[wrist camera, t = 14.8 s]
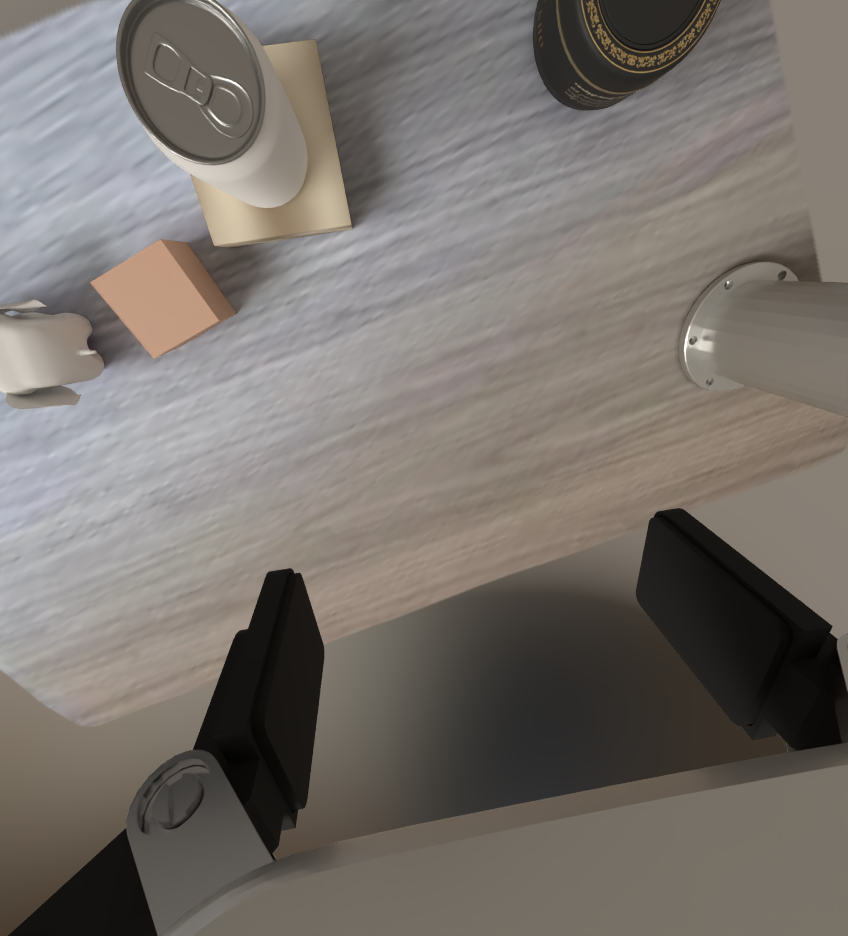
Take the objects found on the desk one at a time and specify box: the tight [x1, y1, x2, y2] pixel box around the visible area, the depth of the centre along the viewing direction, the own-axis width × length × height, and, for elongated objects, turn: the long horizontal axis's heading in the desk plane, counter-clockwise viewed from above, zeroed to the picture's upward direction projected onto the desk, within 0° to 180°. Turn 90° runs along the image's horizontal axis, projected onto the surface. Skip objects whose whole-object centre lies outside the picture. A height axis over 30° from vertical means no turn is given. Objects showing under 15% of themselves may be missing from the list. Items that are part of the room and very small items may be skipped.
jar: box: [533, 0, 721, 110], centre depth 26 cm, size 10×10×8 cm
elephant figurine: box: [0, 300, 104, 409], centre depth 31 cm, size 8×10×7 cm
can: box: [116, 0, 308, 208], centre depth 22 cm, size 6×6×12 cm
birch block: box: [190, 39, 352, 248], centre depth 29 cm, size 10×10×4 cm
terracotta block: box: [90, 239, 236, 358], centre depth 32 cm, size 6×6×5 cm
